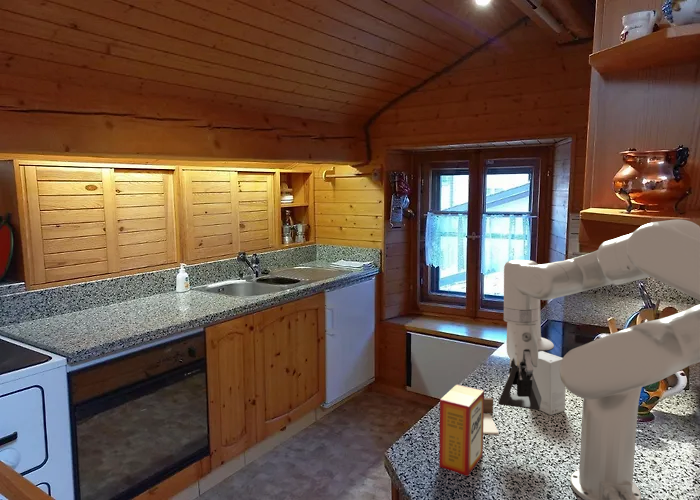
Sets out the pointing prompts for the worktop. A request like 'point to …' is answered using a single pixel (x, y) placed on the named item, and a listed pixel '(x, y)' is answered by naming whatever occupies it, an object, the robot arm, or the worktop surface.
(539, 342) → the candlestick
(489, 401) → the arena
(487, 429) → the pad
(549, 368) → the skincare box
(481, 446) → the baking soda box
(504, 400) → the black tapered piece
